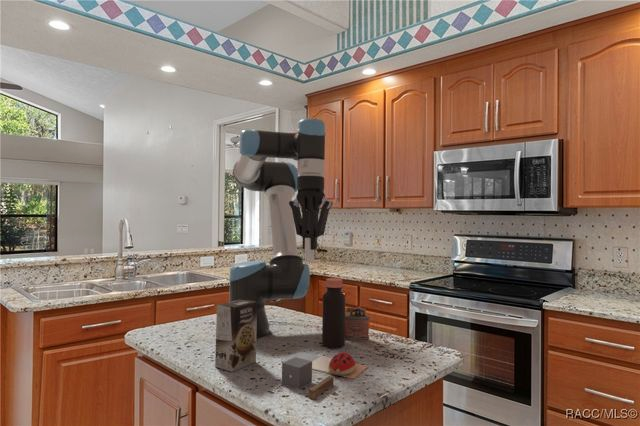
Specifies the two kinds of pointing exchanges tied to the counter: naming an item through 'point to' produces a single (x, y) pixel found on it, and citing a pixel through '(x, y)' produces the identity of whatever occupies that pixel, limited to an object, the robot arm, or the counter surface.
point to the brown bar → (321, 387)
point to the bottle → (333, 315)
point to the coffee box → (236, 334)
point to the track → (325, 364)
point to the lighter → (356, 325)
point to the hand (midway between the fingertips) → (309, 261)
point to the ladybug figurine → (342, 364)
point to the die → (296, 373)
